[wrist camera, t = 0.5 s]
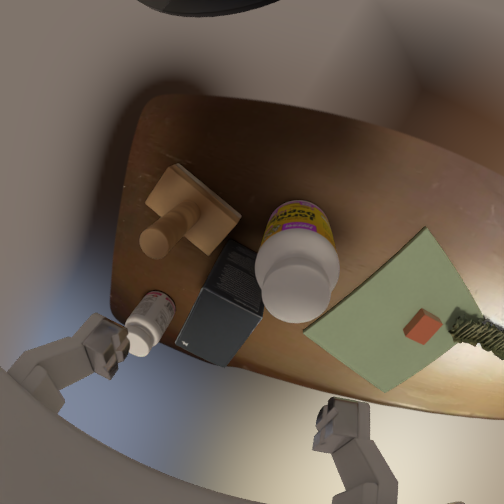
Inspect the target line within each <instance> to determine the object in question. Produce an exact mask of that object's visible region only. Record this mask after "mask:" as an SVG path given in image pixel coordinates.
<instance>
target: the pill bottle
mask: <svg viewBox="0 0 504 504" xmlns="http://www.w3.org/2000/svg"><path fill="white" fill-rule="evenodd" d="M174 314H175V305H174V303H173V301H172V300H171V299H170V298H169V297H168V296H167V295H166V294H164V293H162V292H159V291H152V292H149V293H148V294H147V295H146V296H145V297H144V298H143V299H142V301H141V302H140V303H139V305H138V306H137V307H136V308H135V310H134V311H133V312H132V314H131V315H130V316H129V318H128V319H127V321H126V324H125V327H126V328H128V333H129V334H128V335H127V338H128V339H129V341H130V350H129V352H130V353H131V354H133V355H135V356H139V357H143V356H146V355H147V354H148V353H149V351H150V350H151V348H152V346H155V345H156V344H157V343H158V342H159V340H160V339H161V337H162V335H163V333H164V332H165V330H166V328H167V326H168V325H169V323H170V321H171V320H172V318H173V316H174Z"/></svg>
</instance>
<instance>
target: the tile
mask: <svg viewBox="0 0 504 504" xmlns="http://www.w3.org/2000/svg"><path fill="white" fill-rule="evenodd" d="M442 325H443V324H442V322H441V320H440V318H439V317H437V316H435V315H433V314H432V313H430V312H428V311H426V310H425V309H423V308H421V309H420V310H419V311H418V312H417V314H416V315H415V316H414V317H413V318H412V319H411V321H410V322H409V323H408V324H407V325H406V326H405V327H404V329H403V332H404V334H405V337H407V338H409V339H411V340H414V341H416V342H418V343H420V344H422V345H425V344H426V343H427V342H428V341H429V340H430V338H431V337H432V336H433V335H434V334H435V333H436V332H437V331H438V330H439V329H440V327H441V326H442Z"/></svg>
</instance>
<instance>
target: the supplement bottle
mask: <svg viewBox="0 0 504 504" xmlns="http://www.w3.org/2000/svg"><path fill="white" fill-rule="evenodd" d="M339 271H340V266H339V259H338V255H337V251H336V247H335V243H334V239H333V235H332V231H331V228H330V224H329V221H328V219H327V217H326V215H325V214H324V212H323V211H322V210H321V209H320V208H319V207H318V206H316V205H315V204H313V203H311V202H308V201H304V200H293V201H289V202H286V203H284V204H282V205H280V206H279V207H278V208H277V209H276V210H275V211H274V212H273V213H272V215H271V216H270V218H269V221H268V223H267V226H266V230H265V233H264V236H263V239H262V242H261V245H260V248H259V251H258V254H257V257H256V261H255V275H256V279H257V282H258V284H259V286H260V288H261V290H262V300H263V303H264V305H265V307H266V309H267V310H268V311H269V312H270V313H271V314H272V315H273V316H274V317H276V318H278V319H280V320H282V321H285V322H289V323H303V322H307V321H310V320H313V319H315V318H317V317H318V316H319V315H321V314H322V313H323V312H324V311H325V309H326V308H327V306H328V304H329V302H330V297H331V292H332V290H333V289H334V287H335V285H336V283H337V281H338V278H339Z"/></svg>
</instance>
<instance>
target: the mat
mask: <svg viewBox="0 0 504 504" xmlns="http://www.w3.org/2000/svg"><path fill="white" fill-rule="evenodd" d="M421 308H423V309H425V310H426V311H428V312H430V313H432V314H433V315H435V316H437V317H439V318H440V320H441V322H442V324H443V325H442V326H441V327H440V329H439V330H438V331H437V332H436V333H435V334H434V335H433V336H432V337H431V338H430V340H429V341H428V342H427V343H426V344H425V345H422V344H420V343H418V342H416V341H414V340H411V339H409V338H407V337H405V334H404V332H403V329H404V327H405V326H406V325H407V324H408V323H409V322H410V321H411V319H412V318H413V317H414V316H415V315H416V314H417V312H418V311H419V310H420V309H421ZM463 315H465V319H467V320H468V321H470V320H472V319H473V322H474V323H475V322H476V323H478V320H479V319H481V320H482V322H483V321H484V320H485V319H484V317H483V315H482V313H481V311H480V309H479V308H478V306H477V304H476V302H475V300H474V299H473V297H472V295H471V293H470V292H469V290H468V288H467V287H466V285H465V283H464V282H463V280H462V278H461V277H460V275H459V274H458V272H457V271H456V269H455V267H454V266H453V264H452V263H451V261H450V260H449V258H448V257H447V255H446V254H445V252H444V251H443V249H442V248H441V247H440V245H439V244H438V242H437V241H436V239H435V238H434V237H433V235H432V234H431V233H430V231H429V230H428V229H427V227H424V228H423V229H422V230H421V231H420V232H419V233H418V234H417V235H416V236H415V237H414V238H413V239H412V240H411V241H409V242H408V243H407V244H406V245H405V246H404V247H403V248H402V249H401V250H400V251H399V252H398V253H397V254H395V255H394V256H393V257H392V258H391V259H390V260H389V261H388V262H387V263H385V264H384V265H383V266H382V267H381V268H380V269H379V270H378V271H376V272H375V273H374V274H373V275H372V276H371V277H369V278H368V279H367V280H366V281H365V282H364V283H362V284H361V285H360V286H359V287H358V288H356V289H355V290H354V291H353V292H352V293H350V294H349V295H348V296H347V297H346V298H344V299H343V300H342V301H341V302H339V303H338V304H337V305H336V306H334V307H333V308H332V309H331V310H329V311H328V312H327V313H325V314H324V315H323V316H322V317H320V318H319V319H318V320H316V321H315V322H314V323H312V324H311V325H310V326H308V327H307V328H306V329H304V330H303V334H305V335H306V336H307V337H308V338H310V339H311V340H312V341H314V342H315V343H316V344H318V345H319V346H321V347H322V348H323V349H325V350H326V351H327V352H329V353H330V354H331V355H333V356H334V357H335V358H337V359H338V360H339V361H341V362H342V363H344V364H345V365H346V366H348V367H349V368H350V369H352V370H353V371H355V372H356V373H357V374H359V375H360V376H362V377H363V378H364V379H366V380H367V381H368V382H370V383H371V384H373V385H374V386H376V387H377V388H378V389H380V390H381V391H383V392H384V393H386V392H388V391H389V390H391V389H393V388H394V387H396V386H397V385H399V384H401V383H402V382H404V381H405V380H407V379H408V378H410V377H411V376H413V375H414V374H416V373H417V372H419V371H420V370H422V369H423V368H425V367H426V366H428V365H429V364H430V363H432V362H433V361H435V360H436V359H437V358H439V357H440V356H441V355H443V354H444V353H445V352H447V351H448V350H449V349H450V348H452V347H453V346H454V345H456V344H457V343H458V342H455V343H454V342H453V338H452V336H451V334H450V333H449V332H448V331H450V330H452V329H453V325H454V324H456V322H457V318H458V317H459V316H460V317H462V316H463Z"/></svg>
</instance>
